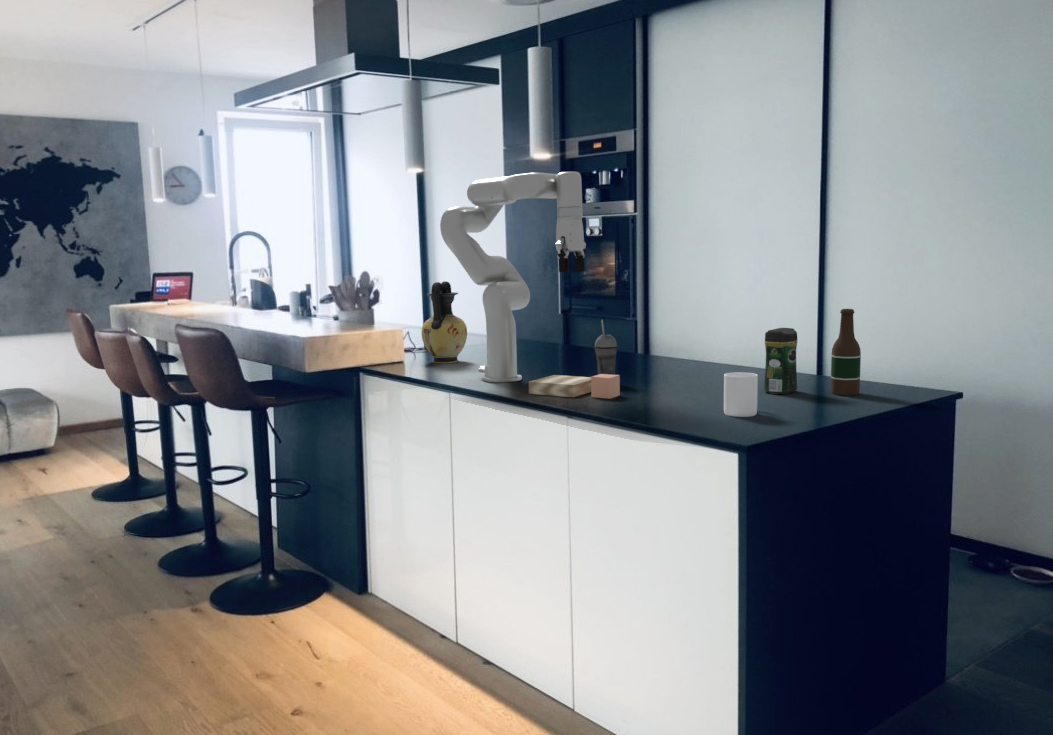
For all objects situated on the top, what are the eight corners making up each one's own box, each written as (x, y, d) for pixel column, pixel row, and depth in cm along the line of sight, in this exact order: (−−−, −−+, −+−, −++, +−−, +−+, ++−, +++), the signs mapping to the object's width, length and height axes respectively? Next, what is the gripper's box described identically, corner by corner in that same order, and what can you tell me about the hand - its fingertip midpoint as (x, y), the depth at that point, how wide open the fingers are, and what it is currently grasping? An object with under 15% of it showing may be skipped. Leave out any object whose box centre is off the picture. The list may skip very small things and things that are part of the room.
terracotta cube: (591, 397, 264) (591, 376, 263) (601, 394, 269) (600, 373, 269) (610, 399, 261) (610, 378, 260) (619, 395, 266) (619, 375, 265)
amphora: (427, 359, 355) (425, 280, 351) (471, 358, 354) (469, 280, 350) (418, 365, 338) (415, 283, 334) (463, 365, 336) (461, 282, 332)
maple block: (528, 395, 273) (528, 381, 272) (554, 387, 285) (554, 374, 285) (573, 398, 265) (573, 385, 264) (597, 391, 277) (597, 377, 277)
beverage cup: (616, 385, 283) (616, 320, 280) (593, 385, 284) (592, 320, 282) (619, 382, 290) (618, 318, 287) (596, 381, 292) (595, 318, 289)
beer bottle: (859, 391, 264) (862, 308, 261) (859, 396, 257) (862, 310, 254) (830, 390, 267) (833, 307, 264) (830, 395, 260) (832, 310, 256)
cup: (718, 415, 235) (718, 375, 233) (737, 407, 244) (738, 369, 243) (748, 418, 230) (749, 377, 228) (767, 410, 239) (768, 371, 238)
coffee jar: (776, 388, 273) (777, 325, 270) (800, 391, 267) (802, 327, 265) (759, 392, 266) (760, 328, 263) (784, 395, 261) (785, 330, 258)
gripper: (572, 215, 286) (574, 270, 288) (544, 214, 271) (547, 272, 273) (594, 213, 282) (596, 270, 284) (567, 212, 267) (569, 272, 269)
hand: (572, 271), depth 279 cm, fingers open, 9 cm apart
